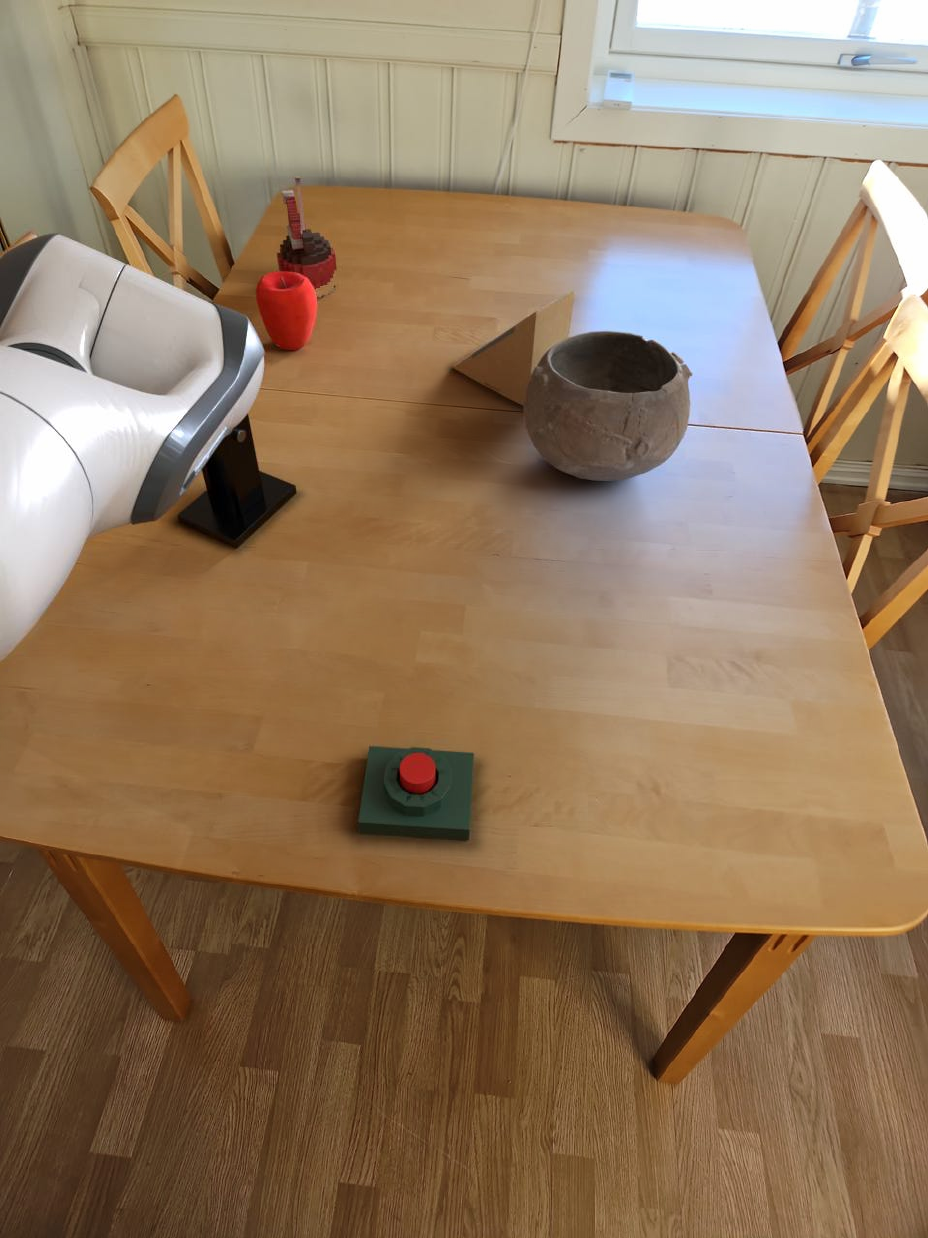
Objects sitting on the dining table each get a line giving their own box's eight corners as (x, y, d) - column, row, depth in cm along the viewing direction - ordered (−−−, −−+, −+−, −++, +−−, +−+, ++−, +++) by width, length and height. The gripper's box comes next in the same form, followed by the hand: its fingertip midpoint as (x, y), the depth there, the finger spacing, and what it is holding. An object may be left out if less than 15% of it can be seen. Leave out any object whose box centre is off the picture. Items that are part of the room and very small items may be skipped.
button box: (359, 833, 74) (356, 812, 71) (370, 758, 80) (368, 735, 77) (468, 841, 74) (470, 820, 71) (473, 764, 80) (475, 742, 77)
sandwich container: (487, 346, 130) (492, 252, 119) (563, 385, 124) (576, 289, 113) (450, 367, 126) (452, 271, 115) (526, 408, 119) (536, 311, 108)
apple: (326, 331, 132) (319, 265, 124) (313, 360, 126) (305, 293, 118) (271, 327, 132) (261, 260, 124) (257, 355, 126) (245, 288, 118)
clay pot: (495, 478, 109) (503, 379, 97) (551, 398, 121) (564, 302, 110) (649, 527, 103) (676, 428, 92) (690, 438, 116) (719, 341, 105)
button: (398, 792, 73) (397, 782, 72) (402, 761, 75) (401, 751, 74) (433, 795, 73) (434, 785, 72) (436, 764, 75) (436, 754, 74)
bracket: (236, 548, 98) (214, 455, 88) (178, 523, 101) (150, 429, 91) (296, 493, 105) (282, 400, 95) (241, 470, 108) (221, 378, 98)
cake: (342, 300, 139) (333, 187, 125) (287, 306, 137) (271, 193, 123) (331, 271, 145) (321, 161, 132) (278, 276, 143) (262, 166, 130)
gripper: (67, 326, 66) (67, 379, 78) (-67, 550, 61) (-45, 569, 73) (143, 369, 68) (131, 414, 80) (19, 589, 63) (27, 600, 76)
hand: (46, 490), depth 77 cm, fingers open, 8 cm apart
